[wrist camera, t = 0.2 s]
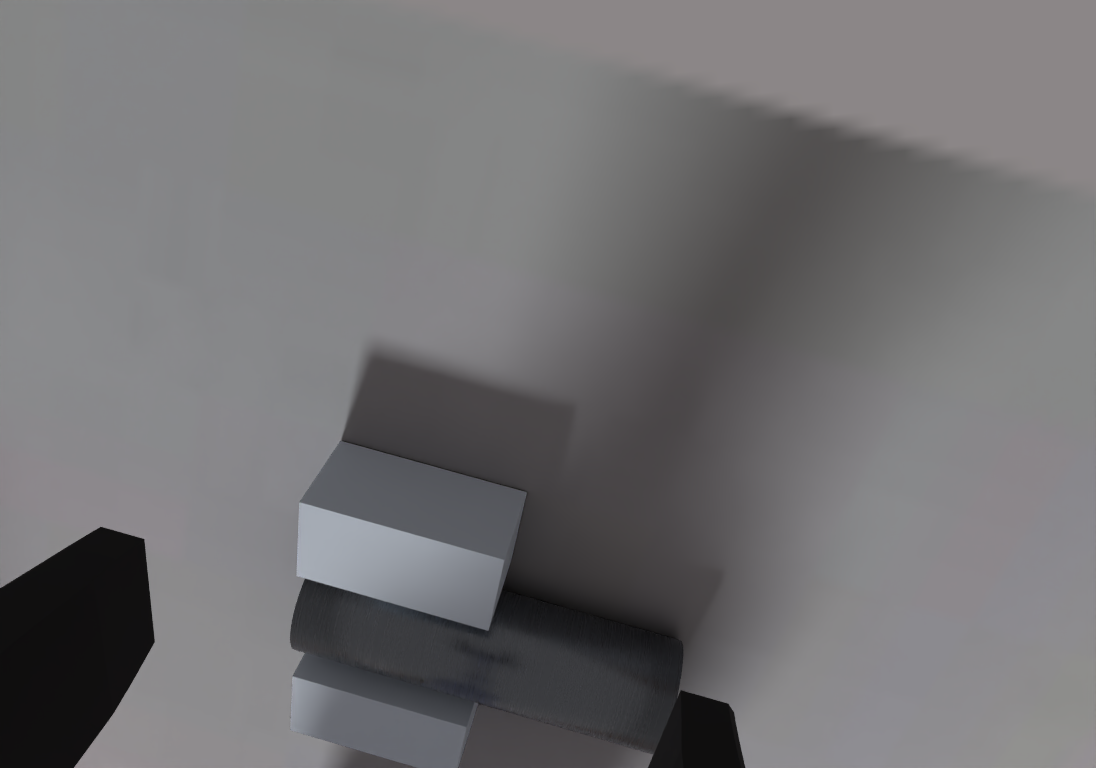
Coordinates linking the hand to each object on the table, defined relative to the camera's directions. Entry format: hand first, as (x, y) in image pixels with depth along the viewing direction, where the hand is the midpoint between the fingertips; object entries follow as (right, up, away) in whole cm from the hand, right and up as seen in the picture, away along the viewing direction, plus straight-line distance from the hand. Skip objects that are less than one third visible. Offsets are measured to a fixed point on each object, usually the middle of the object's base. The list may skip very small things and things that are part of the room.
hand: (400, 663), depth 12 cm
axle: (+1, -3, +14) cm, 14 cm away
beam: (-2, -2, +13) cm, 14 cm away
